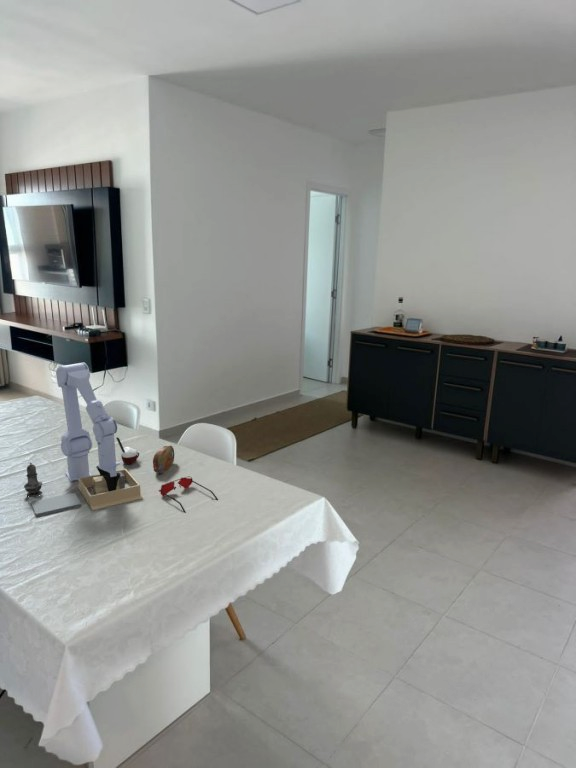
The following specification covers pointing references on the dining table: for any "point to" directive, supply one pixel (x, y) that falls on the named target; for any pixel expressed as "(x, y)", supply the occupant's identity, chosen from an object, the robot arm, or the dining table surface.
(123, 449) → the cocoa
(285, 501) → the dining table surface
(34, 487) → the salt shaker
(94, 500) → the wooden tray
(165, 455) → the tin
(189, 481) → the glasses
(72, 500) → the slate board
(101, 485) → the capped box
